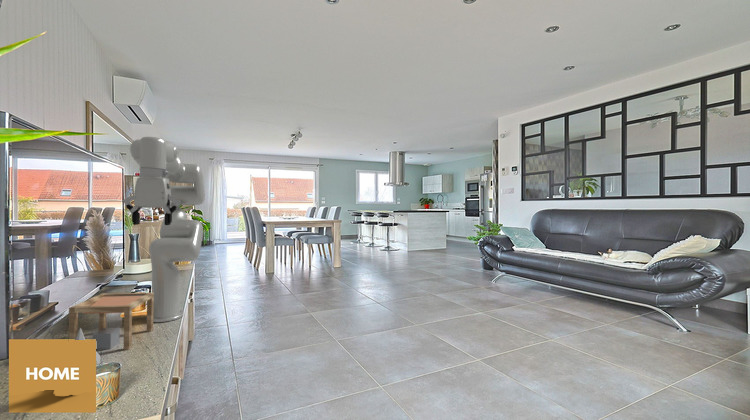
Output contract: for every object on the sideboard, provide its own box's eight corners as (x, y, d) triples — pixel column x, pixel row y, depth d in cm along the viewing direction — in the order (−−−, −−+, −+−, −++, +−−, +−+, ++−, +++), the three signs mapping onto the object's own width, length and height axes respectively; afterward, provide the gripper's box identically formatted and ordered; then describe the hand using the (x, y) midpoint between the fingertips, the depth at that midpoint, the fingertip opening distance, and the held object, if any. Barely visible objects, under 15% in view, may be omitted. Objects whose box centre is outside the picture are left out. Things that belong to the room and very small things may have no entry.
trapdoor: (104, 297, 119) (104, 295, 118) (145, 297, 121) (145, 295, 121) (83, 313, 107) (82, 311, 107) (128, 312, 110) (127, 310, 109)
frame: (101, 331, 120) (101, 293, 120) (153, 329, 123) (153, 292, 123) (68, 352, 104) (68, 308, 104) (129, 349, 107) (129, 306, 107)
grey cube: (102, 328, 111) (92, 334, 106) (119, 327, 112) (110, 333, 107) (102, 343, 111) (92, 350, 106) (119, 342, 112) (110, 349, 107)
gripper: (184, 176, 121) (183, 224, 122) (130, 174, 118) (129, 223, 119) (176, 174, 114) (175, 226, 114) (118, 172, 111) (117, 225, 111)
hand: (152, 224), depth 117 cm, fingers open, 9 cm apart
